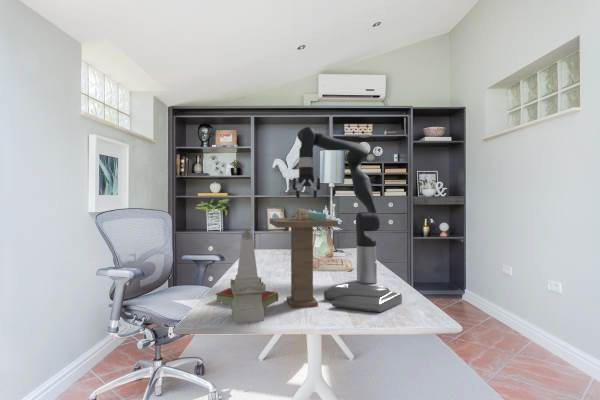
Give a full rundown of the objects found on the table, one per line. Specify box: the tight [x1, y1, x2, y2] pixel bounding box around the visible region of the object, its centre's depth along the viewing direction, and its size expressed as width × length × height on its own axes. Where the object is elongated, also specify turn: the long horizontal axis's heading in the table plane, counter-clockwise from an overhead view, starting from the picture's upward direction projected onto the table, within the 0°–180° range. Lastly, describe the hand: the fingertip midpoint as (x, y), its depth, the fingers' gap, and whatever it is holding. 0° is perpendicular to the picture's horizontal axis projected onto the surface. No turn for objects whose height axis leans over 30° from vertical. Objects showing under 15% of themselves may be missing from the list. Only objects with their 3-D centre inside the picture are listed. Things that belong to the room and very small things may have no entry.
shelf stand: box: [269, 208, 339, 309], centre depth 132 cm, size 22×22×36 cm
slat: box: [307, 210, 327, 221], centre depth 139 cm, size 28×3×2 cm, turn 12°
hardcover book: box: [215, 287, 279, 309], centre depth 134 cm, size 12×21×4 cm, turn 65°
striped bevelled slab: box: [323, 283, 403, 313], centre depth 134 cm, size 28×5×28 cm
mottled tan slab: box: [313, 257, 355, 273], centre depth 203 cm, size 28×6×30 cm
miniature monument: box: [230, 228, 266, 325], centre depth 117 cm, size 10×10×30 cm
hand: (306, 198), depth 178 cm, fingers open, 8 cm apart
